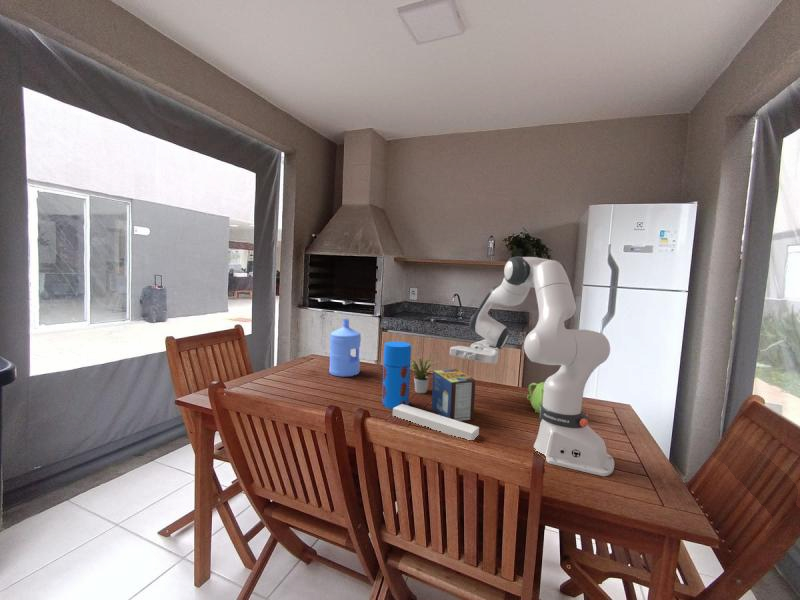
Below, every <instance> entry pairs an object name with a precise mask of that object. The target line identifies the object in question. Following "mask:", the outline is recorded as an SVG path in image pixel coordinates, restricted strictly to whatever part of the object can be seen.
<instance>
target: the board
mask: <svg viewBox="0 0 800 600" xmlns="http://www.w3.org/2000/svg"><path fill="white" fill-rule="evenodd" d="M394 416H396V417H395V418H397V417H398V418H397V419H400V418H401V419H400V420H403V419H405V420H404V421H406V420H408V421H407V422H409V421H411V422H410V423H412V422H413V424H415V423H416V424H415V425H418V424H419V425H418V426H421V425H422V426H421V427H424V426H426V427H425V428H427V427H429V428H428V429H430V428H431V430H434V431H436V430H437V431H436V432H439V431H441V432H440V433H442V434H444V435H449V436H451V435H452V436H451V437H454V436H456V437H455V438H457V437H461V438H465V439H467V440H473V441H475V438H476V437H477V436H478V435H480V427H479V426H477V425H473V424H469V423H466V422H464V421H457V420H454V419H450V418H447V417H444V416H441V415H440V414H438V413H437V414H436V413H434V412H430V411H427V410H424V409H420V408H417V407H415V406H414V407H413V406H410V405H409V404H408V405H404V404H401V405H399V406H396V407H394V408H393V409H392V417H394ZM478 437H479V436H478ZM478 437H477V438H478ZM477 438H476V439H477Z"/></svg>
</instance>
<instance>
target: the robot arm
mask: <svg viewBox="0 0 800 600" xmlns="http://www.w3.org/2000/svg"><path fill="white" fill-rule="evenodd" d="M503 276H504V277H503V280H502V282H501V284H500V285H499V286H494V287H492V289H490V290H489V292H488V293H486V294H487V295H485V297H484V298H483V300H482V302H481V303H480V304H479V307H478V308H477V310H476V311H475V313H474V314H473V315H472V316H471V318H470V319H469V321H468V326H469V329H470V331H472V332H473V333H475V334H477V335H479V336H481V337H482V338H483V339H481V340H478V341H476V342H473V343H471V344H470V346H464V345H455V346H454V345H453V346H451V347H450V348H449V355H450V357H456V358H462V360H465V361H466V360H467V361H470V360H471V361H474V362H475V363H479V364H480V363H487V364H491V365H492V364H493V365H494V364H497V363H498V362H499V355H500V354H499V353H500V350H502V349H503V348H504V347H505V346H506V345H507V343H508V341H509V338H510V330H509V328H508V327H507V326H505V325H504V324H503V323H501V322H500V321H498V320H496V319H494V318H493V317H492V316H490V314H489V311H490V310H491V308H492V307H493V305H494V304H495V305H502V306H507V307H515V306H518V305H519V306H520V304H521V305H522V303H524V301H525V300H526V298H527V296H528V295H529V293H530V291H531V288H533V289H534V291H535V296H536V302H537V307H538V309H537V310H538V319H537V323H536V325H535V327H533V329H532V330H531V331H529V333H528V334H527V335H526V336H525V338H524V342H523V349H524V352H525V355H526V357H527V359H529V361H530V362H533V363H537V364H542V365H545V366H546V365H548V366H560V367H559V369H558V370H557V371H556V372H555V373H553V374H552V375H550V376H548V377H547V378H546V379H545V381H544V382H545V383H544V392H543V404H542V405H541V408H540V413H539V423H540V424H539V429H538V432H537V436H536V440H535V442H534V444H533V449H534V448H535V449H536V450H535V449H534V451H535V452H536V451H538V452H540V453H542V454H544V455H545V456H546V460H545V461H546V462H547V463H548V464H550V465H554V466H557V467H563V468H566V469H571V470H575V471H578V472H579V471H580V472H583V473H587V474H592V475H596V476H601V477H607V476H610V475H611V474H612V473H613V472H614V469H615V460H614V458H613V456H612V455H610V454H609V453H608V452H607V447H606V443H605V441H604V439H603V437H601V436H600V435H599V434H598V433H596V431H594V430H593V428H592V427H590V426H589V425H588V423H589V414H588V413H585V412H584V411H583V410H582V406H583V405H582V404H583V399H584V398H583V397H584V391H585V388H586V385H587V382H588V380H589V378H590V377H591V375H592V374H593V372H594V371H595V370H596V369H597V368H598V367H599V366H600V365H601V364H603V363H605V362H606V361H607V360H608V358H609V356H610V353H611V345H610V342H609V339H608V338H607V337H606V335H605V334H604V333H601V332H598V331H594V330H591V329H568V328H566V327H565V321H567V320H569V319H570V318H572V317H574V314H575V312H576V310H577V304H576V301H575V297H574V291H573V290H572V285H571V282H570V279H569V277H568V274H567V271H566V267H565V265H564V263H562V262H561V261H559V260H555V259H547V258H542V257H536V256H521V255H520V256H512V257H509V258H508V260H506V263H505V265H504V269H503Z"/></svg>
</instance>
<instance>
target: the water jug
mask: <svg viewBox="0 0 800 600" xmlns="http://www.w3.org/2000/svg"><path fill="white" fill-rule="evenodd" d="M349 324H350V319H349V318H348V319H347V318H344V319H342V327H340V328H338V329H336V330H333V331H331V332H330V336H329V337H330V338H329V342H330V343H329V345H330V347H329V374H330V375H332V376H335V377H340V378H341V377H343V378H345V377H346V378H348V377H354V375H355V376H357V375H359V373H360V371H361V368H360V367H361V366H360V363H361V362H360V361H361V360H360V348H361V341H362V340H361V339H362V337H361V333H360V332H359V331H357V330H356V329H353V328H351V327H350V325H349ZM352 350H355V356H354V355H353V356H352V355H351V351H352Z"/></svg>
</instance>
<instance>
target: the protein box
mask: <svg viewBox="0 0 800 600" xmlns="http://www.w3.org/2000/svg"><path fill="white" fill-rule="evenodd" d="M432 371H433V372H432V373H433V374H432V393H431V409H432V410H434V412H435V413H437V415H440V416H444V417H447V418H450V419H454V420H457V421H460V422H467V421H473V420H474V417H475V416H474V415H475V414H474V413H475V397H476V395H475V394H476V379H475V378H473V377H471V376H470V375H468V374H465V373H464V372H462V371H459V370H458V369H456V368H449V369H437V370H432Z"/></svg>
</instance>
